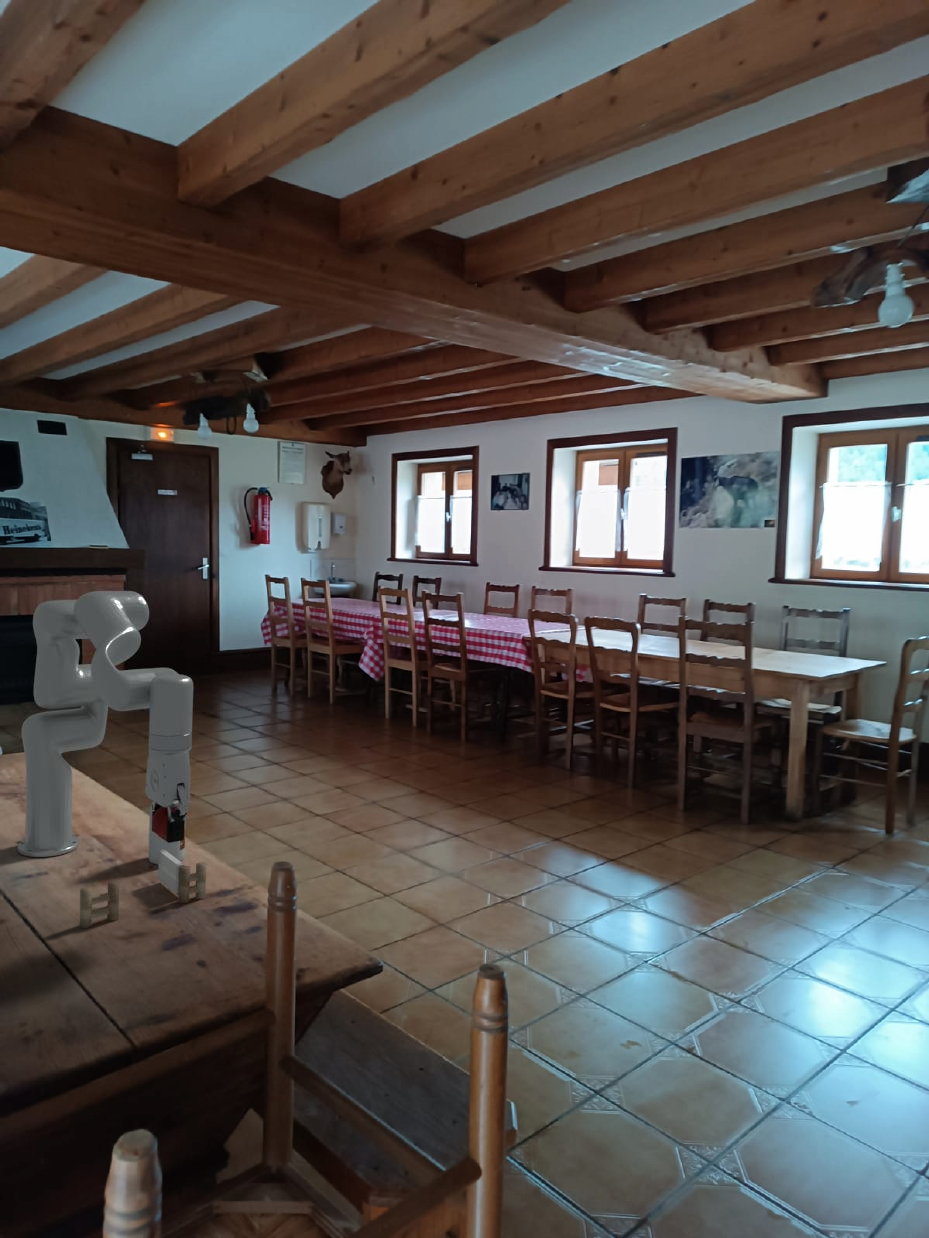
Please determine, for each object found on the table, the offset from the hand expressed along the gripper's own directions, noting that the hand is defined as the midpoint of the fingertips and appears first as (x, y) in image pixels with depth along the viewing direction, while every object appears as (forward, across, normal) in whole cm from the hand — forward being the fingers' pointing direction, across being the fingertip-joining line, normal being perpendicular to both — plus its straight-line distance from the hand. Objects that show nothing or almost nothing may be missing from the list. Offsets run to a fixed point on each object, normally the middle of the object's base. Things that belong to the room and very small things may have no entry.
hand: (167, 834), depth 159 cm
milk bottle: (+18, -31, +13) cm, 38 cm away
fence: (+17, -8, -1) cm, 19 cm away
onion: (+1, 0, 0) cm, 1 cm away
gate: (+17, -14, +7) cm, 23 cm away
